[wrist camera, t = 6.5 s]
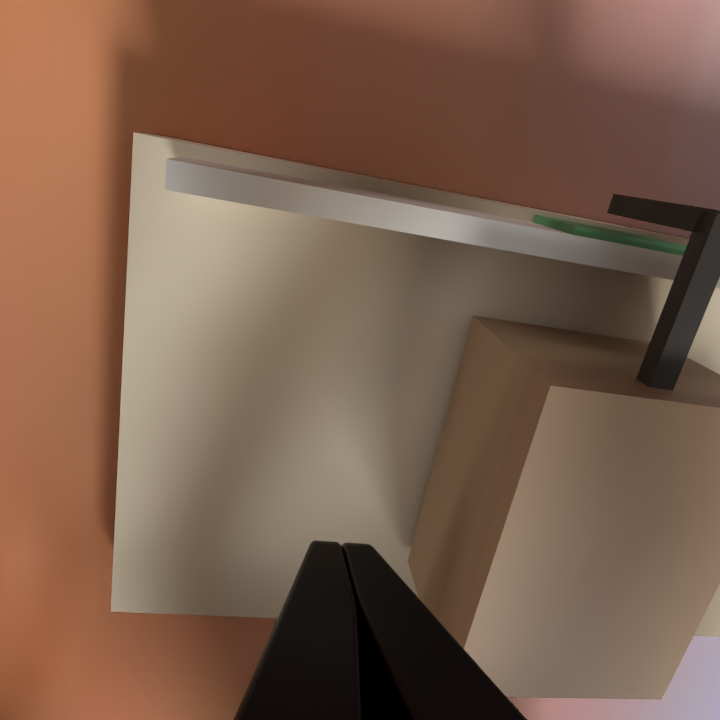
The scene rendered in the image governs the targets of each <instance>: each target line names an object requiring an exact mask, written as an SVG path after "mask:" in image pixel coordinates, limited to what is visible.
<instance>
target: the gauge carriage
mask: <svg viewBox="0 0 720 720" xmlns="http://www.w3.org/2000/svg"><path fill="white" fill-rule="evenodd" d="M607 213H610V214H614V215H619V216H623V217H628V218H633V219H637V220H642V221H646V222H651V223H656V224H660V225H665V226H669V227H674V228H679V229H683V230H688V231H692V234H691V237H690V239H689V242H688V244H687V247H686V250H685V252H684V255H683V257H682V260H681V263H680V265H679V268H678V270H677V273H676V276H675V278H674V281H673V284H672V286H671V289H670V291H669V294H668V297H667V299H666V302H665V304H664V307H663V310H662V312H661V315H660V317H659V320H658V323H657V325H656V328H655V330H654V333H653V336H652V338H651V341H650V342H644V341H637V340H631V339H624V338H617V337H611V336H604V335H598V334H591V333H585V332H578V331H572V330H565V329H558V328H552V327H545V326H539V325H532V324H526V323H519V322H513V321H506V320H499V319H493V318H486V317H480V316H473V317H472V321H471V324H470V328H469V332H468V336H467V339H466V343H465V347H464V351H463V354H462V358H461V362H460V366H459V369H458V373H457V377H456V381H455V384H454V388H453V392H452V396H451V399H450V403H449V407H448V411H447V415H446V418H445V422H444V426H443V430H442V433H441V437H440V441H439V445H438V448H437V452H436V456H435V460H434V463H433V467H432V471H431V475H430V478H429V482H428V486H427V490H426V493H425V497H424V501H423V505H422V509H421V512H420V516H419V520H418V524H417V527H416V531H415V535H414V539H413V542H412V546H411V550H410V554H409V557H408V564H409V567H410V571H411V574H412V577H413V581H414V584H415V587H416V591H417V594H418V597H419V599H420V600H421V601H422V602H423V603H424V605H425V606H426V607H427V608H428V609H429V610H430V611H431V612H432V614H433V615H434V616H435V617H436V618H437V619H438V620H439V621H440V623H441V624H442V625H443V626H444V627H445V628H446V629H447V630H448V632H449V633H450V634H451V635H452V636H453V637H454V638H455V639H456V641H457V642H458V643H459V644H460V645H461V646H462V647H463V648H464V650H465V651H466V652H467V653H468V654H469V655H470V656H471V657H472V659H473V660H474V661H475V662H476V663H477V664H478V665H479V666H480V668H481V669H482V670H483V671H484V672H485V673H486V674H487V675H488V677H489V678H490V679H491V680H492V681H493V682H494V683H495V684H496V686H497V687H498V688H499V689H500V690H501V691H502V692H503V693H504V695H505V696H506V697H541V698H602V699H662V697H663V695H664V693H665V691H666V689H667V687H668V685H669V683H670V681H671V679H672V677H673V675H674V673H675V671H676V669H677V667H678V665H679V663H680V661H681V659H682V658H683V656H684V654H685V652H686V650H687V648H688V646H689V644H690V642H691V640H692V638H693V636H694V634H695V632H696V630H697V628H698V626H699V624H700V622H701V620H702V618H703V616H704V614H705V612H706V610H707V608H708V606H709V604H710V602H711V600H712V598H713V596H714V594H715V592H716V590H717V588H718V586H719V584H720V374H718V373H716V372H714V371H712V370H710V369H708V368H707V367H705V366H703V365H701V364H699V363H697V362H695V361H693V360H692V359H690V358H688V357H687V355H688V353H689V350H690V348H691V346H692V343H693V341H694V338H695V336H696V333H697V331H698V329H699V326H700V324H701V321H702V319H703V316H704V314H705V312H706V309H707V307H708V304H709V302H710V299H711V297H712V295H713V292H714V290H715V287H716V285H717V282H718V280H719V277H720V211H718V210H713V209H706V208H700V207H694V206H687V205H681V204H674V203H668V202H662V201H655V200H649V199H642V198H636V197H630V196H623V195H617V194H613V197H612V200H611V203H610V206H609V209H608V212H607Z"/></svg>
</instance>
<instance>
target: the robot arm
mask: <svg viewBox="0 0 720 720" xmlns="http://www.w3.org/2000/svg"><path fill="white" fill-rule="evenodd" d="M234 720H527V719H526V718H525V717H524V716H523V715H522V714H521V713H520V711H519V710H518V709H517V708H516V707H515V706H514V705H513V704H512V702H511V701H510V700H509V699H508V698H507V697H506V696H505V695H504V693H503V692H502V691H501V690H500V689H499V688H498V687H497V686H496V684H495V683H494V682H493V681H492V680H491V679H490V678H489V677H488V675H487V674H486V673H485V672H484V671H483V670H482V669H481V668H480V666H479V665H478V664H477V663H476V662H475V661H474V660H473V659H472V657H471V656H470V655H469V654H468V653H467V652H466V651H465V650H464V648H463V647H462V646H461V645H460V644H459V643H458V642H457V641H456V639H455V638H454V637H453V636H452V635H451V634H450V633H449V632H448V630H447V629H446V628H445V627H444V626H443V625H442V624H441V623H440V621H439V620H438V619H437V618H436V617H435V616H434V615H433V614H432V612H431V611H430V610H429V609H428V608H427V607H426V606H425V605H424V603H423V602H422V601H421V600H420V599H419V598H418V597H417V596H416V594H415V593H414V592H413V591H412V590H411V589H410V588H409V587H408V585H407V584H406V583H405V582H404V581H403V580H402V579H401V578H400V576H399V575H398V574H397V573H396V572H395V571H394V570H393V569H392V567H391V566H390V565H389V564H388V563H387V562H386V561H385V560H384V558H383V557H382V556H381V555H380V554H379V553H378V552H377V551H376V549H375V548H374V547H373V546H371V545H370V544H364V543H349V542H346V543H343V544H342V545H341V544H339V543H338V542H334V541H319V540H314V541H312V542H311V543H310V545H309V547H308V550H307V552H306V554H305V557H304V559H303V561H302V563H301V566H300V568H299V570H298V573H297V575H296V577H295V580H294V582H293V584H292V587H291V589H290V591H289V593H288V596H287V598H286V600H285V603H284V605H283V607H282V610H281V612H280V614H279V616H278V619H277V621H276V623H275V626H274V628H273V630H272V633H271V635H270V637H269V639H268V642H267V644H266V646H265V649H264V651H263V653H262V656H261V658H260V660H259V662H258V665H257V667H256V669H255V672H254V674H253V676H252V679H251V681H250V683H249V685H248V688H247V690H246V692H245V695H244V697H243V699H242V702H241V704H240V706H239V708H238V711H237V713H236V715H235V718H234Z"/></svg>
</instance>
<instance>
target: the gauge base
mask: <svg viewBox="0 0 720 720" xmlns="http://www.w3.org/2000/svg"><path fill="white" fill-rule="evenodd" d="M688 242H689V238H683V237H678V236H673V235H668V234H663V233H658V232H653V231H648V230H642V229H637V228H632V227H627V226H622V225H617V224H612V223H607V222H601V221H596V220H591V219H586V218H581V217H576V216H571V215H565V214H560V213H555V212H550V211H545V210H540V209H535V208H530V207H524V206H519V205H514V204H509V203H504V202H499V201H494V200H489V199H483V198H478V197H473V196H468V195H463V194H458V193H453V192H448V191H442V190H437V189H432V188H427V187H422V186H417V185H412V184H406V183H401V182H396V181H391V180H386V179H381V178H376V177H371V176H365V175H360V174H355V173H350V172H345V171H340V170H335V169H330V168H324V167H319V166H314V165H309V164H304V163H299V162H294V161H289V160H283V159H278V158H273V157H268V156H263V155H258V154H253V153H247V152H242V151H237V150H232V149H227V148H222V147H217V146H212V145H206V144H201V143H196V142H191V141H186V140H181V139H176V138H171V137H165V136H160V135H155V134H150V133H134V132H133V151H132V172H131V193H130V215H129V236H128V257H127V278H126V299H125V320H124V341H123V362H122V383H121V405H120V426H119V447H118V468H117V489H116V510H115V531H114V552H113V573H112V594H111V612H133V613H157V614H181V615H206V616H230V617H254V618H278V616H279V614H280V612H281V610H282V607H283V605H284V603H285V600H286V598H287V596H288V593H289V591H290V589H291V587H292V584H293V582H294V580H295V577H296V575H297V573H298V570H299V568H300V566H301V563H302V561H303V559H304V557H305V554H306V552H307V550H308V547H309V545H310V543H311V542H312V541H314V540H319V541H334V542H338V543H339V544H341V545H342V544H343V543H346V542H349V543H364V544H370V545H371V546H373V547H374V548H375V549H376V551H377V552H378V553H379V554H380V555H381V556H382V557H383V558H384V560H385V561H386V562H387V563H388V564H389V565H390V566H391V567H392V569H393V570H394V571H395V572H396V573H397V574H398V575H399V576H400V578H401V579H402V580H403V581H404V582H405V583H406V584H407V585H408V587H409V588H410V589H411V590H412V591H413V592H414V593H415V594H416V596H417V597H418V594H417V591H416V587H415V584H414V581H413V577H412V574H411V571H410V567H409V564H408V557H409V554H410V550H411V546H412V542H413V539H414V535H415V531H416V527H417V524H418V520H419V516H420V512H421V509H422V505H423V501H424V497H425V493H426V490H427V486H428V482H429V478H430V475H431V471H432V467H433V463H434V460H435V456H436V452H437V448H438V445H439V441H440V437H441V433H442V430H443V426H444V422H445V418H446V415H447V411H448V407H449V403H450V399H451V396H452V392H453V388H454V384H455V381H456V377H457V373H458V369H459V366H460V362H461V358H462V354H463V351H464V347H465V343H466V339H467V336H468V332H469V328H470V324H471V321H472V317H473V316H480V317H486V318H493V319H499V320H506V321H513V322H519V323H526V324H532V325H539V326H545V327H552V328H558V329H565V330H572V331H578V332H585V333H591V334H598V335H604V336H611V337H617V338H624V339H631V340H637V341H644V342H650V341H651V338H652V336H653V333H654V330H655V328H656V325H657V323H658V320H659V317H660V315H661V312H662V310H663V307H664V304H665V302H666V299H667V297H668V294H669V291H670V289H671V286H672V284H673V281H674V278H675V276H676V273H677V270H678V268H679V265H680V263H681V260H682V257H683V255H684V252H685V250H686V247H687V244H688ZM687 357H688V358H690V359H692V360H693V361H695V362H697V363H699V364H701V365H703V366H705V367H707V368H708V369H710V370H712V371H714V372H716V373H718V374H720V277H719V280H718V282H717V285H716V287H715V290H714V292H713V295H712V297H711V299H710V302H709V304H708V307H707V309H706V312H705V314H704V316H703V319H702V321H701V324H700V326H699V329H698V331H697V333H696V336H695V338H694V341H693V343H692V346H691V348H690V350H689V353H688V355H687ZM418 598H419V597H418ZM694 636H715V637H720V584H719V586H718V588H717V590H716V592H715V594H714V596H713V598H712V600H711V602H710V604H709V606H708V608H707V610H706V612H705V614H704V616H703V618H702V620H701V622H700V624H699V626H698V628H697V630H696V632H695V634H694Z"/></svg>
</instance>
